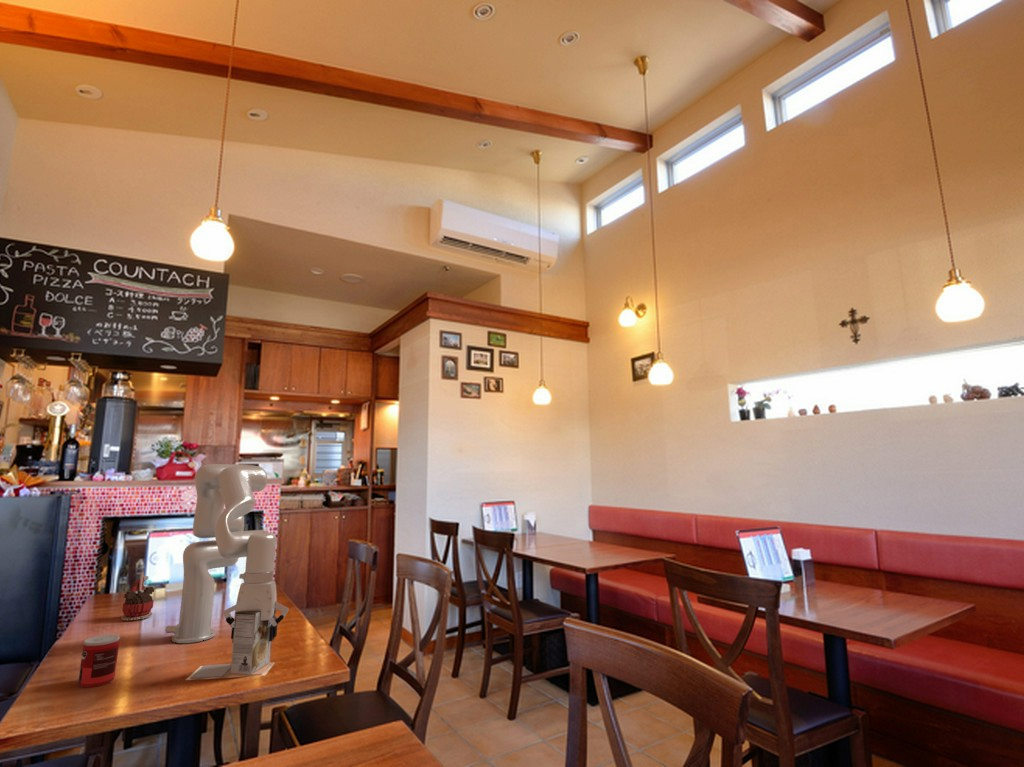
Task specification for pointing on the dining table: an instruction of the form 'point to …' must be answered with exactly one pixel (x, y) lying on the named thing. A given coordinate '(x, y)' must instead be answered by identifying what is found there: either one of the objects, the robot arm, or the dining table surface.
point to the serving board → (231, 673)
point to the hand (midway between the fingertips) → (253, 640)
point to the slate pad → (212, 671)
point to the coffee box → (250, 643)
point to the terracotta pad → (258, 672)
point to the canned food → (98, 660)
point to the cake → (138, 600)
